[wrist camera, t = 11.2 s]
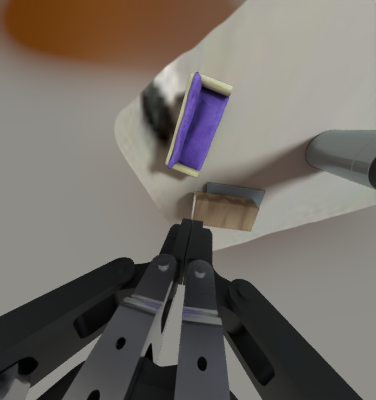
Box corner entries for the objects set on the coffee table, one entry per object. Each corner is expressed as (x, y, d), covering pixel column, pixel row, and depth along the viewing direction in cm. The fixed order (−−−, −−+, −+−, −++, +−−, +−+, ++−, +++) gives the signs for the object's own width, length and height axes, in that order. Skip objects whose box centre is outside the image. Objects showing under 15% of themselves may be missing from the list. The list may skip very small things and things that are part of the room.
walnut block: (194, 191, 45) (252, 198, 45) (191, 213, 49) (244, 220, 49) (194, 199, 40) (259, 208, 40) (190, 223, 43) (250, 231, 43)
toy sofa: (199, 172, 45) (195, 183, 36) (172, 162, 45) (162, 170, 36) (231, 94, 35) (237, 81, 26) (197, 80, 35) (192, 63, 26)
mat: (264, 190, 44) (266, 192, 42) (251, 227, 50) (252, 230, 48) (207, 182, 45) (207, 184, 44) (201, 219, 52) (201, 222, 50)
